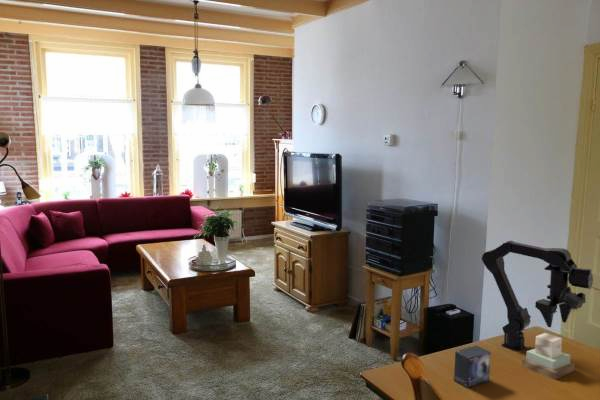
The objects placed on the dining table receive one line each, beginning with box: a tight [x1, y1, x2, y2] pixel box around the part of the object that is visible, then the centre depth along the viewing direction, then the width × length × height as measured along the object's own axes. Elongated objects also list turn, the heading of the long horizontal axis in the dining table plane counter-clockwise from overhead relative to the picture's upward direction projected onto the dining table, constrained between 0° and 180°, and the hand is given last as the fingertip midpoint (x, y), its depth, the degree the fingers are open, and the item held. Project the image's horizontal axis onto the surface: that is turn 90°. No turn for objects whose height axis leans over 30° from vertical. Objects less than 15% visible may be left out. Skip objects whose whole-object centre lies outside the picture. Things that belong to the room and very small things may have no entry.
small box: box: [453, 345, 492, 389], centre depth 160 cm, size 11×6×10 cm, turn 117°
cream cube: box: [534, 332, 563, 359], centre depth 169 cm, size 6×6×6 cm
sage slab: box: [525, 348, 571, 370], centre depth 169 cm, size 10×10×3 cm
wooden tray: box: [522, 358, 576, 381], centre depth 169 cm, size 12×12×3 cm
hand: (556, 324), depth 176 cm, fingers open, 9 cm apart
